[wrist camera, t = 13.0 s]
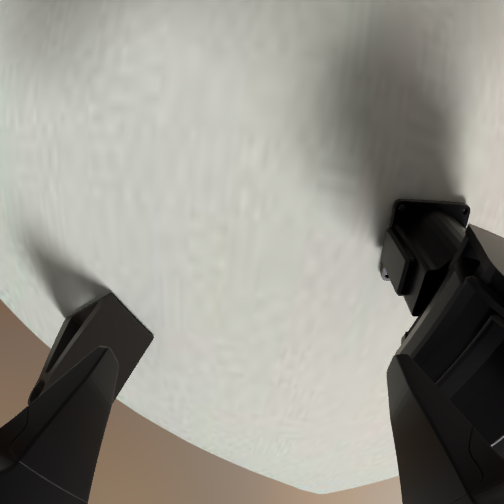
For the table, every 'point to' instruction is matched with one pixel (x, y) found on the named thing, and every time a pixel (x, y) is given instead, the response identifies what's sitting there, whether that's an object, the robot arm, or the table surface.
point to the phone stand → (95, 342)
